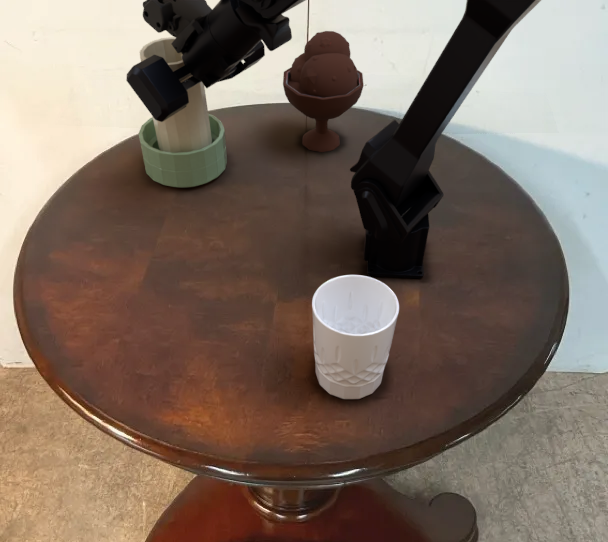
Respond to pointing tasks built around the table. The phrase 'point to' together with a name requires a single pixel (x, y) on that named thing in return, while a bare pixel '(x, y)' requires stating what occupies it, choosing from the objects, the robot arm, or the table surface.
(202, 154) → the sage bowl
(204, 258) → the table surface
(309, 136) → the ice cream bowl
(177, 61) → the cream cup
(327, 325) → the white cup
